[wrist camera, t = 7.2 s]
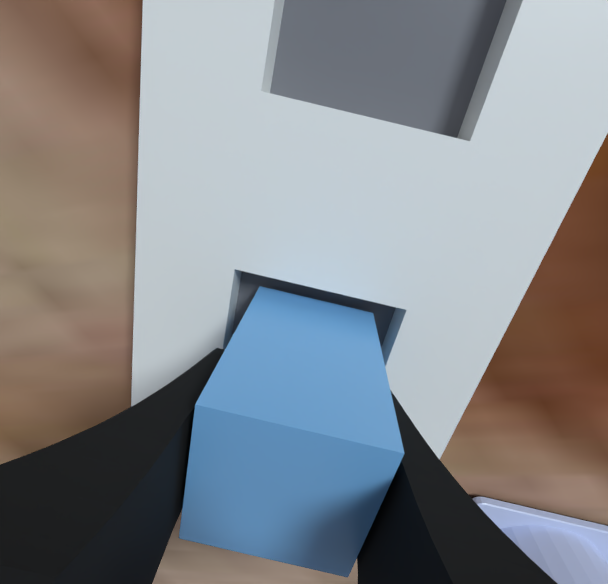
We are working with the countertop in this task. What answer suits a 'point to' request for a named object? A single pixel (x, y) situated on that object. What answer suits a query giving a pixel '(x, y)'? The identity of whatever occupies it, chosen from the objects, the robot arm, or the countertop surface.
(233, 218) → the panel
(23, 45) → the countertop surface
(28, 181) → the countertop surface
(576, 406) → the countertop surface
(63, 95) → the countertop surface
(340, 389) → the plug
